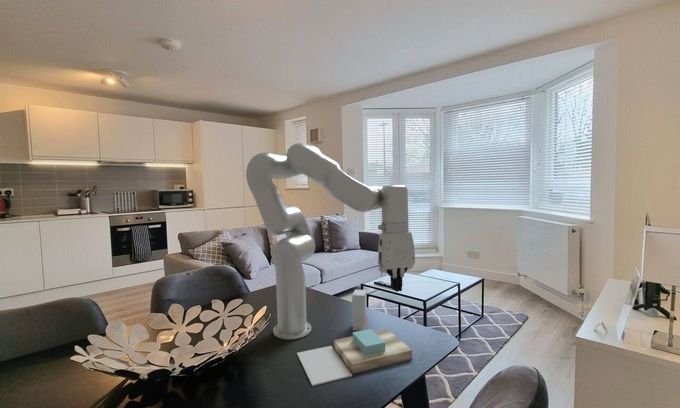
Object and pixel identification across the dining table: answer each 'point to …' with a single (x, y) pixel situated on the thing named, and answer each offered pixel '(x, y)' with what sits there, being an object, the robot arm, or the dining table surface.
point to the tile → (368, 341)
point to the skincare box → (359, 310)
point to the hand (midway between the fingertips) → (396, 290)
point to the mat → (323, 365)
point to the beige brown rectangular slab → (362, 362)
